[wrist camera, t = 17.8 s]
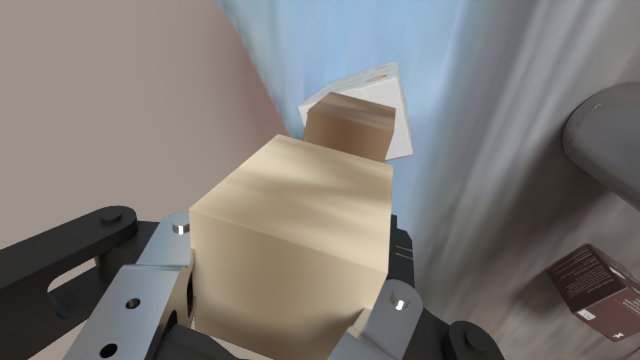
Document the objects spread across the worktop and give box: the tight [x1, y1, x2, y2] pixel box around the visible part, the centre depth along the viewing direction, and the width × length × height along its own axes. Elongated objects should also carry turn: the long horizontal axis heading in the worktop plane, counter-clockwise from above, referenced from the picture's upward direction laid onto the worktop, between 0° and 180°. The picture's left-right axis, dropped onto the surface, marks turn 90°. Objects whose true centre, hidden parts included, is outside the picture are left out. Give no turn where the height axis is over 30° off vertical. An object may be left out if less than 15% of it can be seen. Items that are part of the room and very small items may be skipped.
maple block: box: [189, 134, 393, 360], centre depth 11 cm, size 5×5×6 cm
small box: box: [297, 61, 413, 161], centre depth 28 cm, size 8×6×13 cm
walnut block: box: [303, 92, 396, 163], centre depth 20 cm, size 5×5×6 cm
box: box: [546, 244, 640, 342], centre depth 33 cm, size 6×6×7 cm
